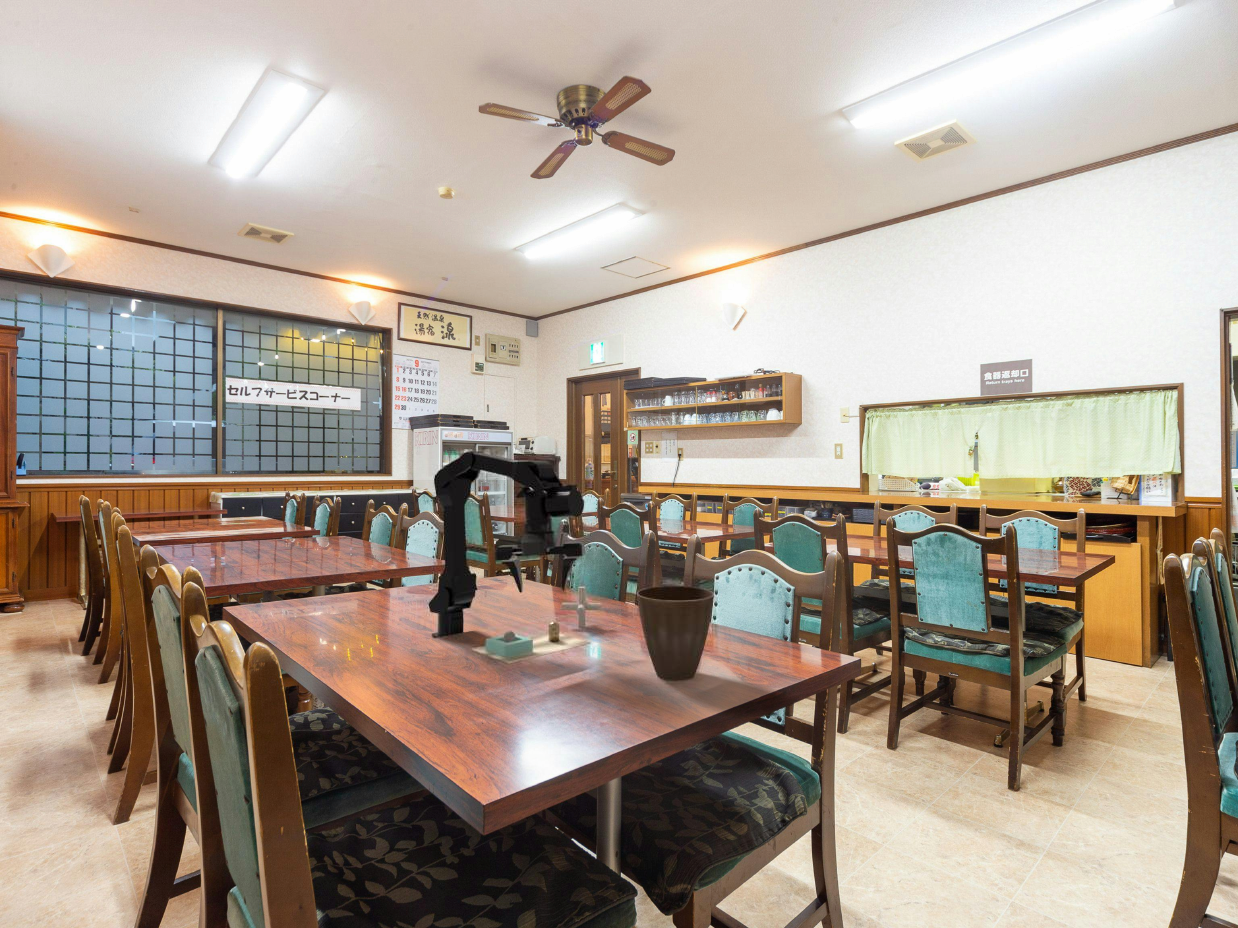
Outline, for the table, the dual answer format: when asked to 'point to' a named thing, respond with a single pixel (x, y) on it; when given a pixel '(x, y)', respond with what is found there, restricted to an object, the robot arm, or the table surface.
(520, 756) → the table surface
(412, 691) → the table surface
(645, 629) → the plant pot
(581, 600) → the pipe connector
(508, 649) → the teal collar
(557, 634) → the bronze post
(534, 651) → the birch stand board
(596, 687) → the table surface
